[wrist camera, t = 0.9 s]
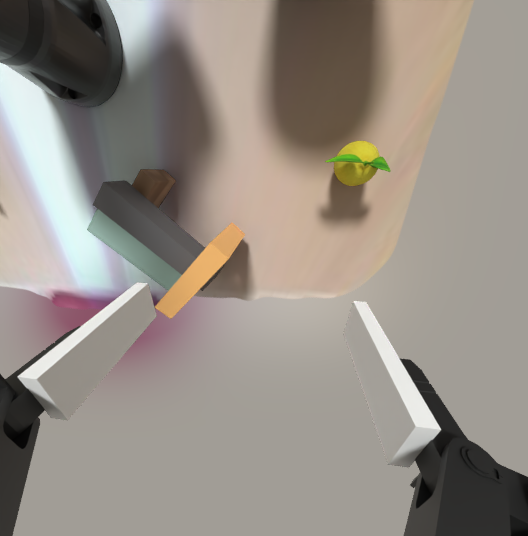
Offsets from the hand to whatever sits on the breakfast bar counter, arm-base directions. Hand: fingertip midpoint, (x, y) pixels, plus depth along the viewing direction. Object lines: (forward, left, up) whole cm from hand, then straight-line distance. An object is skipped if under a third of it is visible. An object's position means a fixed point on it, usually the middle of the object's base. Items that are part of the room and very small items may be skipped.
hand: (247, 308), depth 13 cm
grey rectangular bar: (-11, -12, -20) cm, 25 cm away
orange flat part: (-4, -12, -23) cm, 26 cm away
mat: (-14, -24, -26) cm, 38 cm away
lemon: (+2, +14, -26) cm, 29 cm away
